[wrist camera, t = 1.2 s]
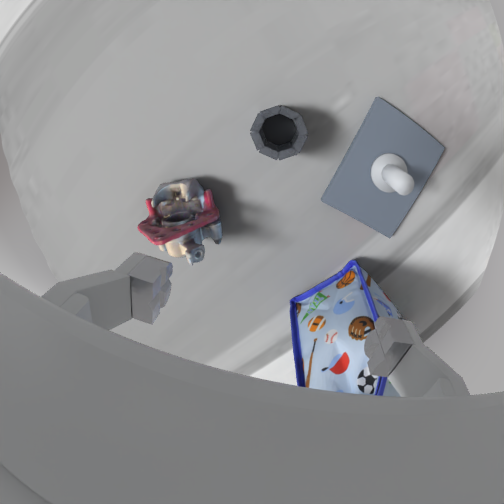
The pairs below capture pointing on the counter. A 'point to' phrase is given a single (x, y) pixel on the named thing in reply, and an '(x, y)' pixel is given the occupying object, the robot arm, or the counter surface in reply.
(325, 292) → the lunch bag
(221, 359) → the counter surface
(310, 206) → the counter surface
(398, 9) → the counter surface
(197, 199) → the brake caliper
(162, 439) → the robot arm
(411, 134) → the post block
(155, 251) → the counter surface
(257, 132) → the hub ring
